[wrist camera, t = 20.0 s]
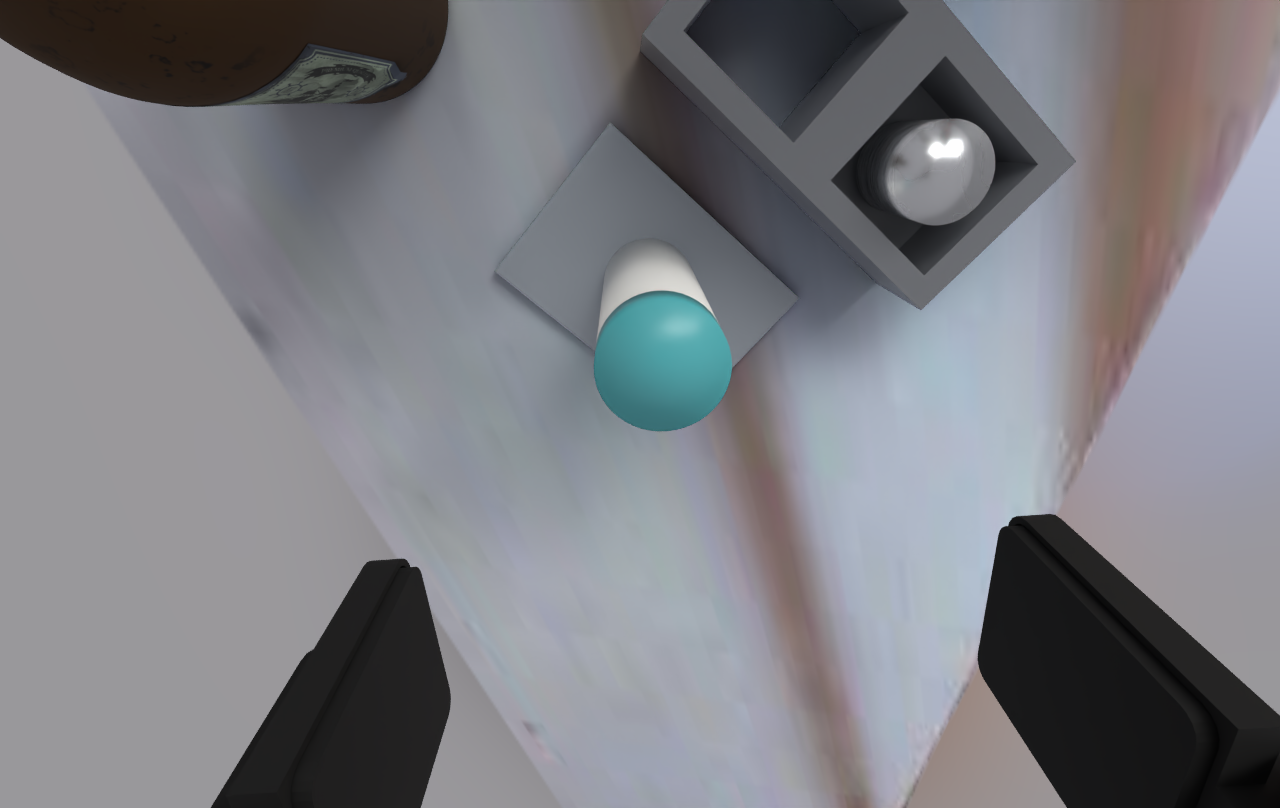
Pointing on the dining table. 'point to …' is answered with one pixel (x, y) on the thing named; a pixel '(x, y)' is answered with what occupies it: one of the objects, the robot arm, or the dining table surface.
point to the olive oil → (233, 47)
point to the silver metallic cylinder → (927, 169)
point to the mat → (624, 212)
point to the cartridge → (658, 340)
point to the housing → (858, 108)
